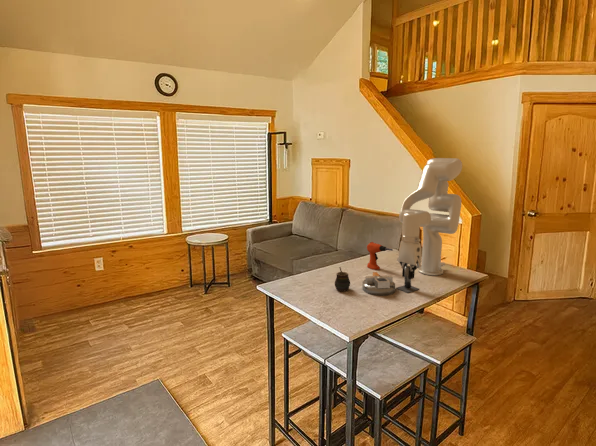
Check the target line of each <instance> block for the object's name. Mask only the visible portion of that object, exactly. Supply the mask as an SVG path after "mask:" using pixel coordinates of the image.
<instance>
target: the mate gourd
mask: <svg viewBox="0 0 596 446" xmlns="http://www.w3.org/2000/svg"><path fill="white" fill-rule="evenodd" d="M338 268H339V270H340V271H338V272H336V274H335V275H336V276H335V277H336V279H335V281H334V286H335V289H336V290H337V291H338V292H346V291H348V290H349V289H350V287H351V280H350V278H349V273H348V272H346V271H342V268H341V266H340V267H338Z"/></svg>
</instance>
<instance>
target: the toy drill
mask: <svg viewBox="0 0 596 446" xmlns="http://www.w3.org/2000/svg"><path fill="white" fill-rule="evenodd" d="M366 250H367V251H368V252H369V262H368V263H367V266H366V267H367V268H368V269H370V270H373V271H377V270H380V268H381V266H379V264H378V263H377V260H378V259H379V257H378V255H377V253H380V252H385V251H394V249H393V248H388V247H387V246H384V245H381V244H379V243H375V242H373V241H371V242H370V243H369V242H368V244H367V245H366Z"/></svg>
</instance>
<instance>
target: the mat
mask: <svg viewBox="0 0 596 446" xmlns="http://www.w3.org/2000/svg"><path fill="white" fill-rule="evenodd" d="M395 290H398V291H401V292H404V293H406V294H410V293H413V292H417V291H419V290H420V288H418V287H416V286H412V285H411V288H405V287H404V285H401V286H398V287H395Z"/></svg>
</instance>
